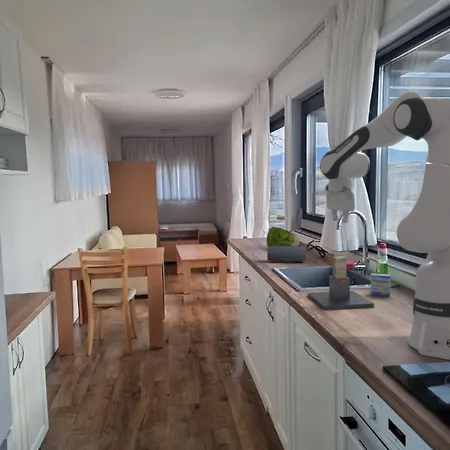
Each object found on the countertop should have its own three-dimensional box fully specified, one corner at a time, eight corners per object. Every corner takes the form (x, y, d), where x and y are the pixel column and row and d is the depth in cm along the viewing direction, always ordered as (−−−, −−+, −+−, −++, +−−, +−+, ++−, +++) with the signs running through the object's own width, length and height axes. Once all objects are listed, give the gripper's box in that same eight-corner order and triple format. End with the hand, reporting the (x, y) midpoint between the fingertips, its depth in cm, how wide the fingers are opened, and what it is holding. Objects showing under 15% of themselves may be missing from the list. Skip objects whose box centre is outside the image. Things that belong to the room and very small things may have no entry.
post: (346, 297, 171) (346, 258, 170) (336, 298, 171) (336, 258, 169) (342, 295, 175) (342, 256, 174) (332, 295, 175) (332, 256, 173)
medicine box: (370, 295, 182) (370, 275, 182) (370, 292, 187) (371, 272, 186) (390, 296, 180) (390, 276, 179) (390, 293, 184) (390, 274, 183)
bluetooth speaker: (305, 261, 263) (305, 245, 262) (305, 264, 254) (305, 247, 253) (268, 260, 267) (268, 244, 266) (267, 263, 258) (267, 247, 257)
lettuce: (296, 258, 308) (302, 243, 296) (264, 253, 308) (269, 238, 296) (296, 241, 320) (301, 226, 308) (265, 236, 319) (269, 221, 307)
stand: (374, 307, 165) (374, 281, 164) (324, 309, 162) (324, 283, 161) (352, 293, 184) (352, 271, 184) (307, 296, 182) (307, 273, 181)
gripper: (359, 186, 159) (358, 223, 160) (338, 186, 179) (338, 219, 181) (343, 187, 158) (342, 224, 160) (323, 186, 178) (323, 219, 180)
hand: (340, 221), depth 170 cm, fingers open, 8 cm apart
